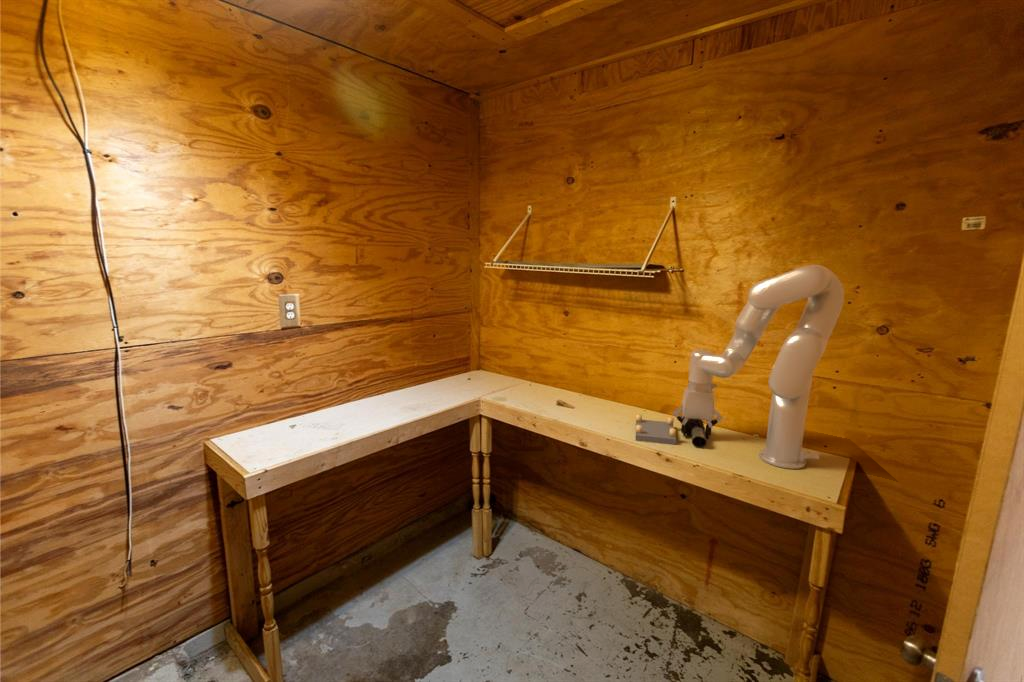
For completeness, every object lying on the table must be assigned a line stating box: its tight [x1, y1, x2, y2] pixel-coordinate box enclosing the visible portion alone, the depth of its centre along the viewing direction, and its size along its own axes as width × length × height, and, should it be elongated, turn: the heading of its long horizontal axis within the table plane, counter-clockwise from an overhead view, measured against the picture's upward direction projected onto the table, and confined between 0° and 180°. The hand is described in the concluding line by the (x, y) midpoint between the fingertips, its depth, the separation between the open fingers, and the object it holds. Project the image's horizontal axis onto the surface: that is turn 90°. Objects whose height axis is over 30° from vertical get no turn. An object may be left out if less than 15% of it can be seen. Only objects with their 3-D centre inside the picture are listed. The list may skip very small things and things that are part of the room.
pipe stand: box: [635, 413, 677, 446], centre depth 162 cm, size 13×16×4 cm
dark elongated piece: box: [686, 419, 708, 450], centre depth 159 cm, size 18×7×6 cm, turn 162°
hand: (695, 435), depth 159 cm, fingers closed on dark elongated piece, 6 cm apart
